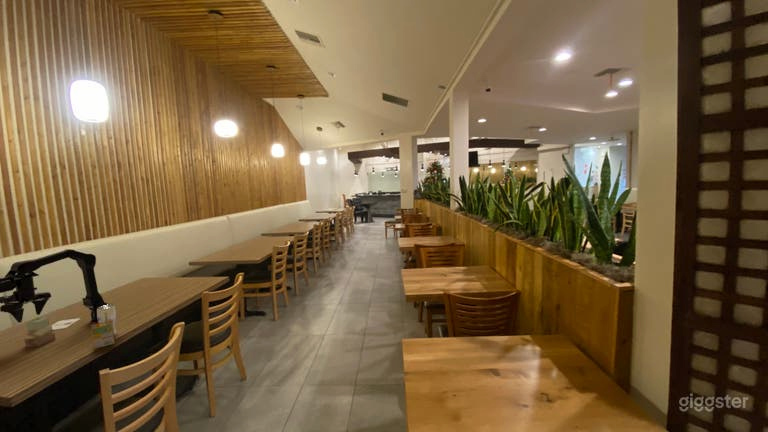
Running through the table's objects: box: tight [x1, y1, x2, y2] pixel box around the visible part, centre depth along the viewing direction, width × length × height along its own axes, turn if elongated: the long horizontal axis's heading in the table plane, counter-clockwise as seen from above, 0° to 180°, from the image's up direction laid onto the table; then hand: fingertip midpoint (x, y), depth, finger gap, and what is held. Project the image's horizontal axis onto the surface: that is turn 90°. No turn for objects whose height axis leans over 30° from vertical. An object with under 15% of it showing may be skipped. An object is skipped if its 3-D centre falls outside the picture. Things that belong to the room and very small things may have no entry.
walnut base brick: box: [24, 331, 56, 348], centre depth 150 cm, size 7×7×4 cm
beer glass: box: [97, 304, 118, 336], centre depth 156 cm, size 7×7×15 cm
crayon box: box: [91, 321, 116, 350], centre depth 145 cm, size 7×3×12 cm, turn 129°
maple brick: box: [25, 324, 54, 339], centre depth 150 cm, size 6×6×4 cm
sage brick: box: [26, 317, 50, 330], centre depth 149 cm, size 5×5×4 cm
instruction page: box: [51, 317, 82, 331], centre depth 171 cm, size 10×14×1 cm
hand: (29, 318), depth 148 cm, fingers open, 9 cm apart
